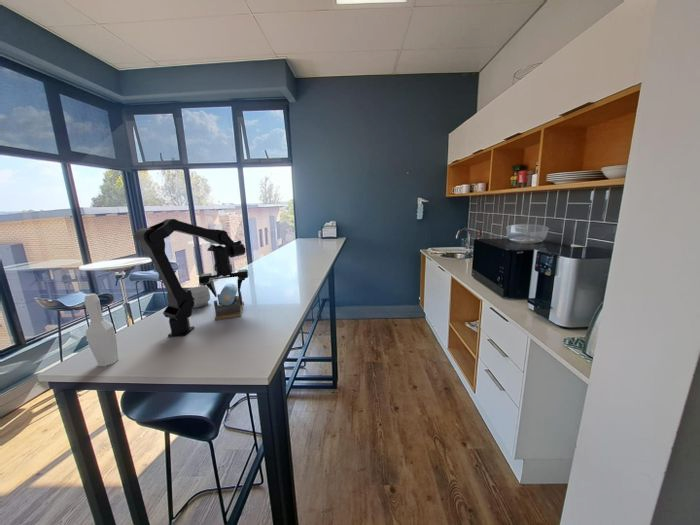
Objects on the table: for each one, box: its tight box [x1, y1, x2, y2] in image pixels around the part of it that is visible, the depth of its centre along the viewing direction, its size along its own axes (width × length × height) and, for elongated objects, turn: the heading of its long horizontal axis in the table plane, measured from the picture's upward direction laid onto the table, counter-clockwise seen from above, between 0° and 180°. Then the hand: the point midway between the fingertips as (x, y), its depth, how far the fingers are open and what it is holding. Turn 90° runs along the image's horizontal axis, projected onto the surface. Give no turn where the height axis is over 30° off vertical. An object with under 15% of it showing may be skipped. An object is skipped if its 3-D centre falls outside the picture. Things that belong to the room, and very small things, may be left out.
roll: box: [217, 283, 238, 305], centre depth 118 cm, size 12×6×6 cm, turn 17°
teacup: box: [187, 284, 211, 309], centre depth 130 cm, size 14×11×8 cm
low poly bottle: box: [83, 293, 119, 367], centre depth 82 cm, size 6×6×22 cm
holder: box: [213, 290, 245, 321], centre depth 119 cm, size 16×10×7 cm, turn 17°
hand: (227, 295), depth 118 cm, fingers open, 9 cm apart
